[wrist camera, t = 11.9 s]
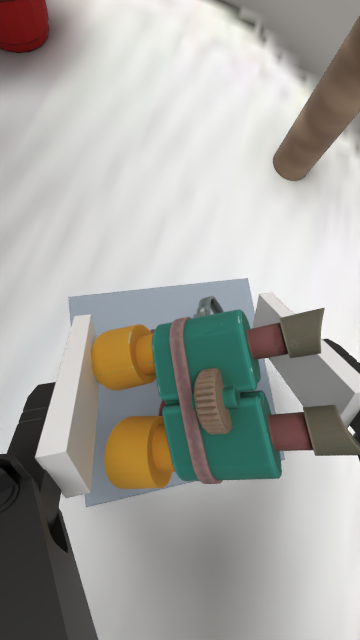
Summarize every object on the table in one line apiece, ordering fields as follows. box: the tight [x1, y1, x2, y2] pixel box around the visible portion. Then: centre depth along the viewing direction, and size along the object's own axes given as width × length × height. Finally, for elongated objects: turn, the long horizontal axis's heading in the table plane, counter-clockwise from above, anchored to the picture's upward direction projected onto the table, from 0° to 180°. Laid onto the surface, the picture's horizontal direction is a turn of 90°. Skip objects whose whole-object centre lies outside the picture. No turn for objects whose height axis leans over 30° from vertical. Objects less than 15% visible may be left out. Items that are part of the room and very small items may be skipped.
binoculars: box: [91, 296, 360, 489], centre depth 12 cm, size 9×9×10 cm
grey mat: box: [69, 278, 285, 507], centre depth 18 cm, size 14×14×1 cm
